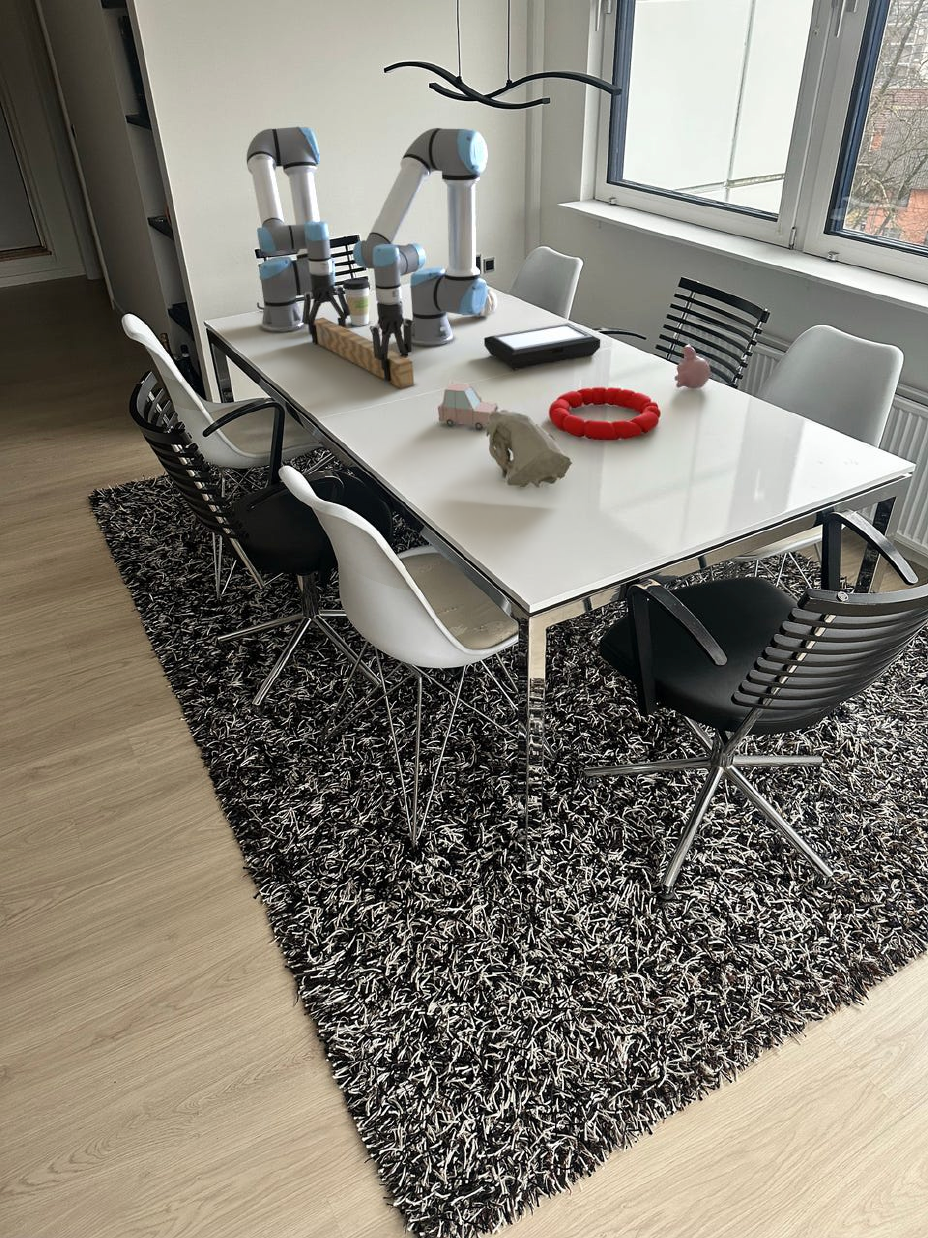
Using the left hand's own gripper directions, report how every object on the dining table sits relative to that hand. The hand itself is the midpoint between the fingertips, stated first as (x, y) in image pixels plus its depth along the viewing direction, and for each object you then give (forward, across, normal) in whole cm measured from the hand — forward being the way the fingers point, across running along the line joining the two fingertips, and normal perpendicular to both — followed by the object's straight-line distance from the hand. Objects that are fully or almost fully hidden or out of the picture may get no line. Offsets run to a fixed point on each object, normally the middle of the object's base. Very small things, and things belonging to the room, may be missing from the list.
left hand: (329, 340), depth 306 cm
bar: (+2, 0, -22) cm, 22 cm away
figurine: (+2, +65, -106) cm, 124 cm away
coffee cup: (+2, +20, +16) cm, 26 cm away
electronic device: (+2, +50, -55) cm, 74 cm away
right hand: (+1, 0, -45) cm, 45 cm away
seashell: (+2, +60, -6) cm, 61 cm away
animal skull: (+2, -8, -120) cm, 121 cm away
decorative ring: (+2, +28, -110) cm, 113 cm away
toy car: (+2, -2, -88) cm, 88 cm away
